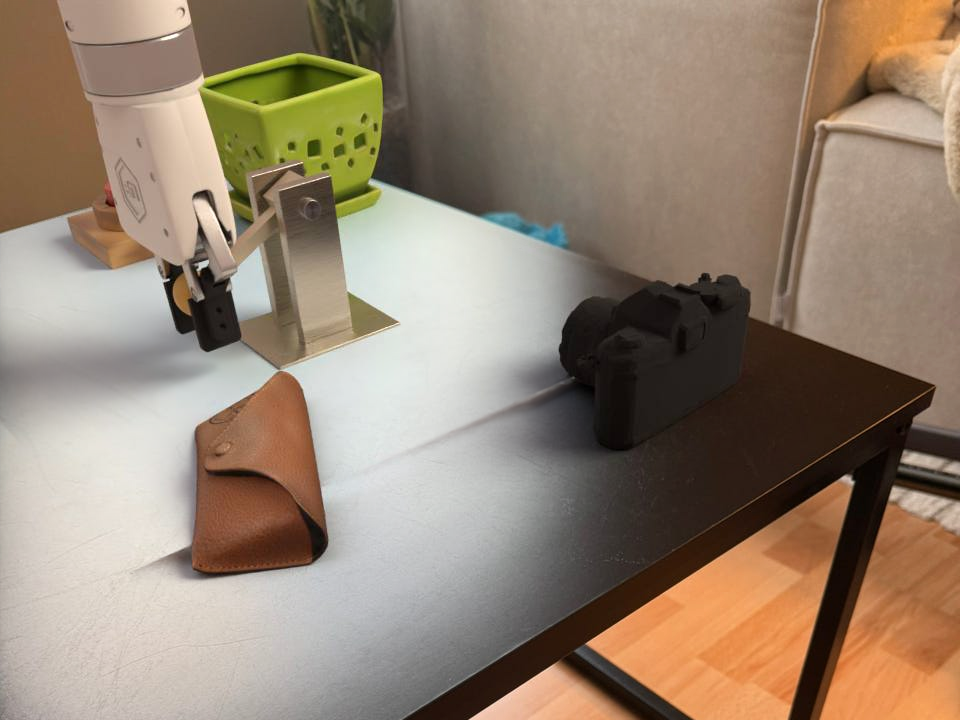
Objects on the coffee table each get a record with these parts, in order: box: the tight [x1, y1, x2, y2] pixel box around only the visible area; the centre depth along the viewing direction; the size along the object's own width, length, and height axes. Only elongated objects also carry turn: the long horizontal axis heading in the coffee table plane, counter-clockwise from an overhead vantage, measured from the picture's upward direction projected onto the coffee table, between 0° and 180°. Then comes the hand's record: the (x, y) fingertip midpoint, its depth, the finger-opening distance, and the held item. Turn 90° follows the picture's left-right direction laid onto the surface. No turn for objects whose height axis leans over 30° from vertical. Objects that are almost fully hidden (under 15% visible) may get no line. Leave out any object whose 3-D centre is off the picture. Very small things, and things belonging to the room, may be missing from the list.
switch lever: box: [173, 170, 304, 316], centre depth 74 cm, size 13×3×3 cm, turn 128°
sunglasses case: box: [190, 370, 329, 575], centre depth 65 cm, size 18×7×7 cm
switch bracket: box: [239, 159, 401, 371], centre depth 78 cm, size 11×9×13 cm
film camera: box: [558, 272, 752, 450], centre depth 70 cm, size 15×10×9 cm, turn 133°
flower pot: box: [197, 52, 384, 224], centre depth 97 cm, size 14×14×13 cm
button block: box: [66, 192, 202, 270], centre depth 98 cm, size 10×10×4 cm
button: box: [103, 181, 116, 207], centre depth 96 cm, size 4×4×2 cm
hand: (209, 334), depth 76 cm, fingers closed on switch lever, 3 cm apart
